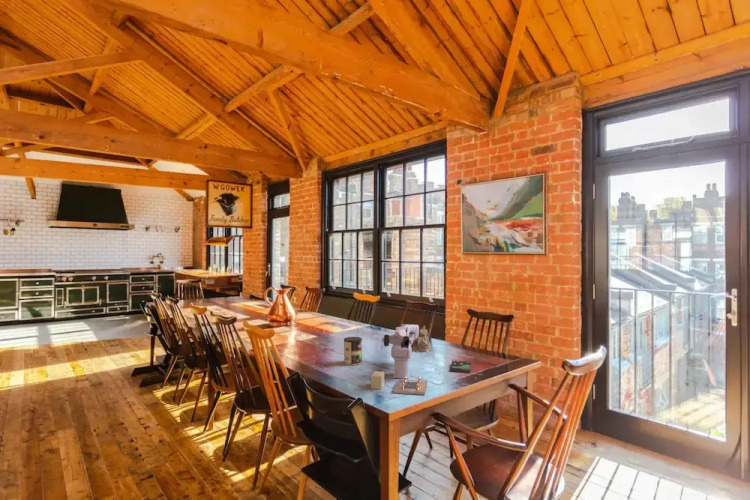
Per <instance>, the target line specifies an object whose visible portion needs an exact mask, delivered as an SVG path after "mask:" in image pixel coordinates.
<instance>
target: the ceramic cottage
mask: <svg viewBox="0 0 750 500" xmlns="http://www.w3.org/2000/svg"><path fill="white" fill-rule="evenodd" d="M411 348H412V351H413V350H414V351H413V352H416V351H418V353H428V352H430V351H431V350H432V347H431V344H430V337H429V336H428V329H426V325H423V327H422V328H421V329H420V328H419V334H418V337H417V339H415V340H414V341H413V343H412V345H411ZM429 350H430V351H429ZM427 351H428V352H427Z"/></svg>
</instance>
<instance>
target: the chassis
mask: <svg viewBox="0 0 750 500" xmlns="http://www.w3.org/2000/svg"><path fill="white" fill-rule="evenodd" d="M427 386H428V380H421V376H418V377H417V380H414V379H413V380H411V379H406V376H404V379H398V380H397V382H396V384H395V385H394V388H393V394H406V395H419V396H425V395H426V391H427Z"/></svg>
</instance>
